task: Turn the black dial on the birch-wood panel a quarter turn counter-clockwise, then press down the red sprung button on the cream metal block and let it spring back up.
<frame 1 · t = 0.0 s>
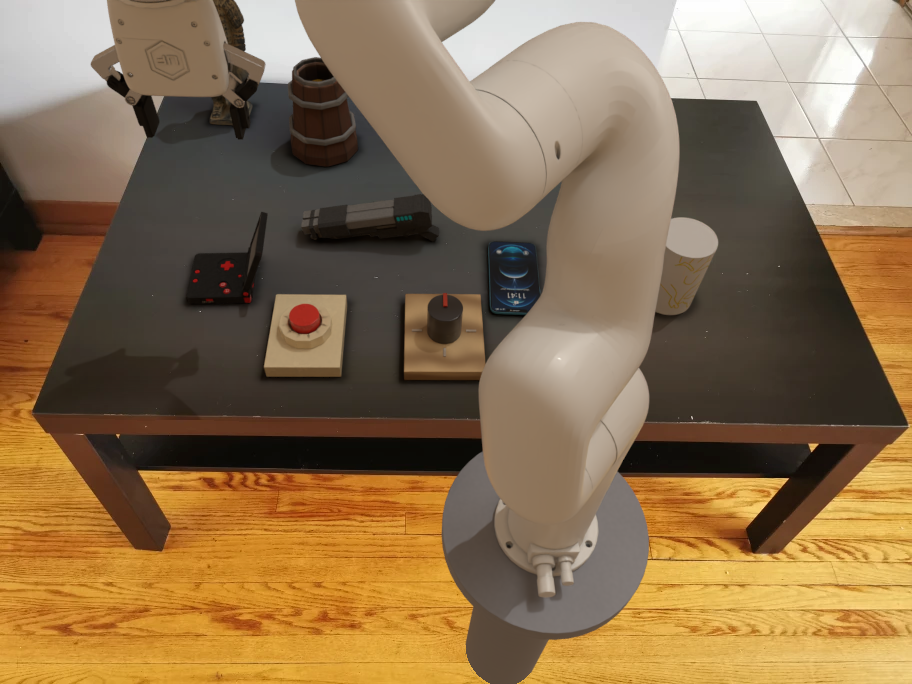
hand: (197, 131, 78), 30 cm above the table, tool pointing down, fingers open, 9 cm apart
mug: (327, 140, 128), on the table
statue: (233, 115, 131), on the table
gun: (372, 237, 113), on the table
dial panel: (443, 339, 100), on the table
dial: (444, 318, 97), point 5 cm above the table, hinge at 0.0°
press button: (304, 318, 96), point 4 cm above the table, slide at 0.1 cm
smartphone: (513, 279, 108), on the table
handheld gaming console: (234, 281, 105), on the table
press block: (308, 339, 99), on the table
decorative flower: (492, 137, 131), on the table
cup: (664, 295, 108), on the table
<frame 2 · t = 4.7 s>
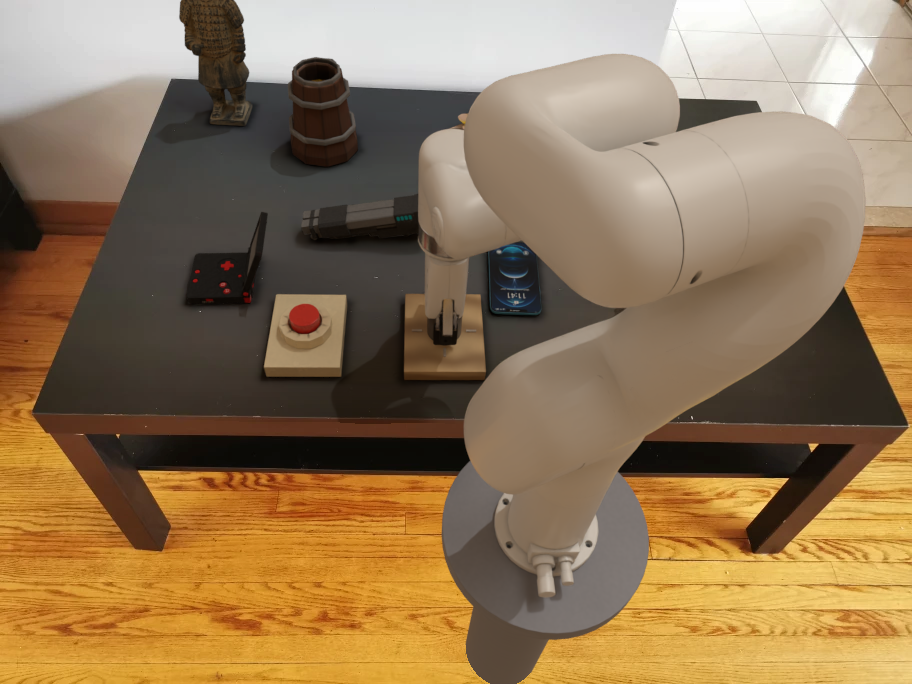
hand: (444, 326, 98), 3 cm above the table, tool pointing down, fingers closed on dial, 4 cm apart
dial: (444, 318, 97), point 5 cm above the table, hinge at -0.1°, touching gripper
everything else where it was.
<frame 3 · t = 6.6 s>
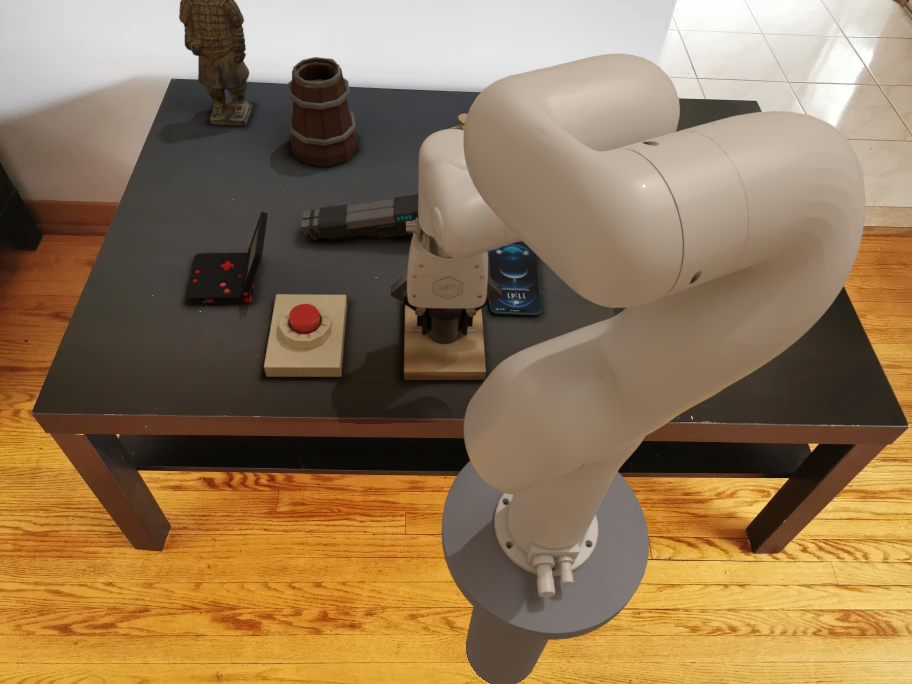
hand: (444, 326, 98), 3 cm above the table, tool pointing down, fingers closed on dial, 4 cm apart
dial: (444, 318, 97), point 5 cm above the table, hinge at 90.2°, touching gripper
everything else where it was.
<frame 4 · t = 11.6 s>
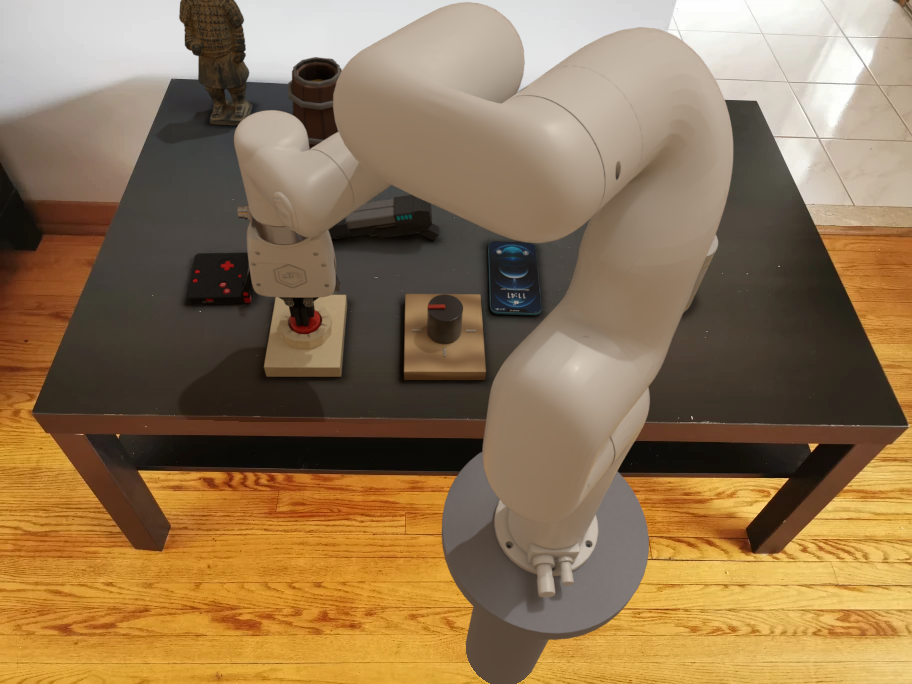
hand: (303, 318, 96), 4 cm above the table, tool pointing down, fingers closed
dial: (444, 318, 97), point 5 cm above the table, hinge at 91.4°
press button: (305, 323, 96), point 4 cm above the table, slide at -0.8 cm, touching gripper
everything else where it was.
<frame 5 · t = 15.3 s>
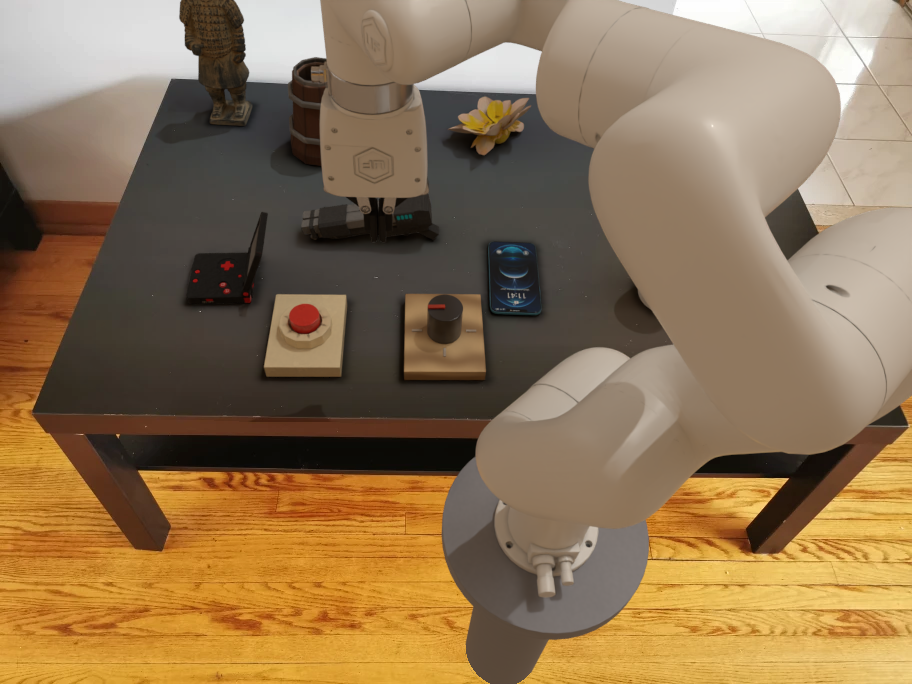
hand: (379, 233, 77), 25 cm above the table, tool pointing down, fingers closed
press button: (304, 318, 96), point 4 cm above the table, slide at 0.1 cm
everything else where it was.
at the end: dial at +91° (first picture: +0°); press button pushed in 1.1 cm at the most during the clip, back to where it started at the end; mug moved 0.2 cm from its start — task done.
